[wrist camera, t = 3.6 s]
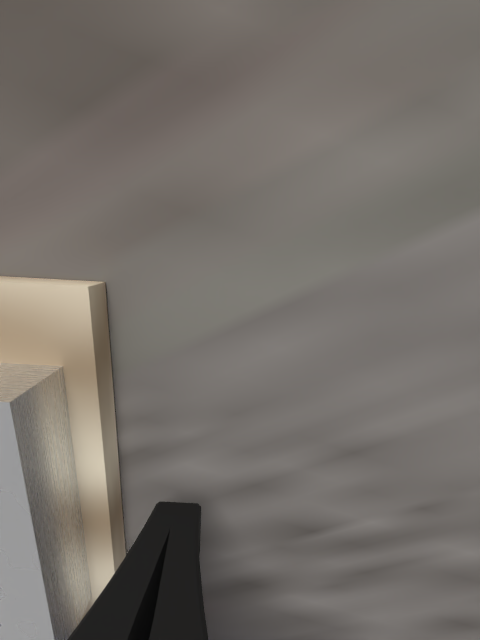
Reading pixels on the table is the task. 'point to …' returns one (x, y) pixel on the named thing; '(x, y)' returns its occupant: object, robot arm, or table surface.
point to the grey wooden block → (39, 509)
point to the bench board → (75, 396)
